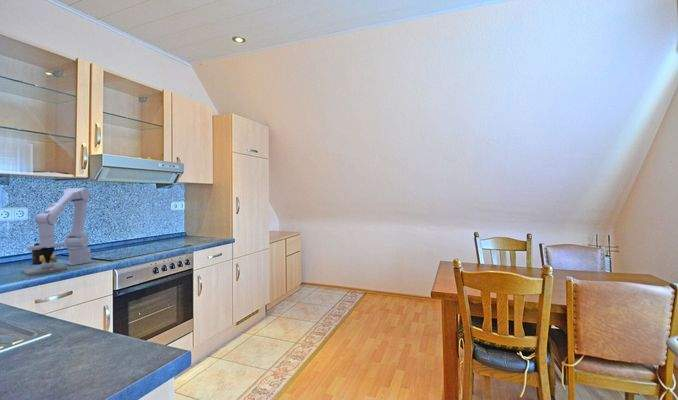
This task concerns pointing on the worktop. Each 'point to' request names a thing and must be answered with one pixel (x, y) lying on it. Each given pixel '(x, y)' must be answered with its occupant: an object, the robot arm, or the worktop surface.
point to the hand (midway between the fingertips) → (47, 262)
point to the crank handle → (52, 259)
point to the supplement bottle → (36, 255)
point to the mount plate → (44, 269)
